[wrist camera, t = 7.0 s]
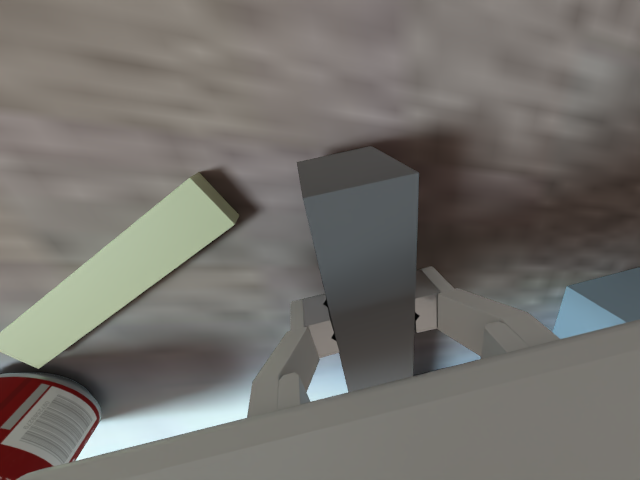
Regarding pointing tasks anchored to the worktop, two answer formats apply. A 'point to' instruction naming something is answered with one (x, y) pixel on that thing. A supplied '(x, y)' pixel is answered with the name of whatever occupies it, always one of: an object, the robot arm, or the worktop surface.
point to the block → (599, 304)
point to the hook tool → (366, 258)
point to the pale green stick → (120, 272)
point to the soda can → (43, 421)
